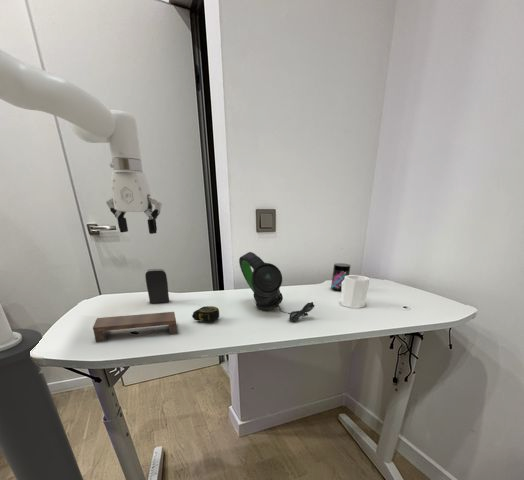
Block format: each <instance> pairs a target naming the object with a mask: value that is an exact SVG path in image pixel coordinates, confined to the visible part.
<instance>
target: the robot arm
mask: <svg viewBox="0 0 524 480" xmlns="http://www.w3.org/2000/svg"><path fill="white" fill-rule="evenodd" d="M0 100H2V101H4V102H6V103H8V104H10V105H12V106H14V107H17V108H20V109H24V110H29V111H38V112H43V113H46V114H50V115H52V116H55V117H57V118H60V119H62V120H64V121H67V122H68V123H69V124H70V128H71V129H72V132H73V133H74V134H75V135H76V136H77V137H78V138H79V139H80V140H82V141H84V142H87V143H89V144H109V149H110V155H111V161H110V162H109V167H110V168H111V169H113V172H111V193H112V197H111V198H109V199H108V200H106V202H105V203H106V205H107V207H108V208H109V211H110V212H111V213H112V214H113V215H114V217H115V218H116V219H117V224H118V229H119V232H120V233H127V232H129V228H128V222H127V217H125V215H126V213H127V212H128V213H144V214H145V215H146V216H147V218H148V219H147V228H148V233H149V234H150V235H154V234H157V230H158V227H157V219H158V216H159V215H160V214H161V210H162V207H163V203H162V202H161V201H159V200H158V199H156V198H154V197H152V195H151V189H150V186H149V185H150V184H149V182H148V179H147V176H146V173H144V169H143V164H142V156H141V148H140V141H139V135H138V134H139V133H138V128H137V127H138V126H137V121H136V118H135V116H134V114H132V113H130V112H129V111H126V110H121V109H110V108H108V106H107V105H106V104H105V103H104V102H102V100H100V99H98V98H97V97H96V96H94V95H93V94H91V93H90V92H88V91H87V90H85V89H83V88H81V87H80V86H78V85H76V84H74V83H73V82H71V81H69V80H67V79H65V78H63V77H61V76H58V75H57V74H54V73H52V72H50V71H47V70H44V69H42V68H39V67H37V66H35V65H33V64H30V63H27V62H24V61H22V60H21V59H19V58H17V57H15V56H13V55H11V54H10V53H8V52H7V51H5V50H3V49H1V48H0ZM153 205H154V210H153ZM11 329H12V328H11V325H10V323H9V320H8V318H7V315H6V312H5V311H4V309H3V306H2V303H1V302H0V352H1V351H4V350H7V349H10V348H12V347H14V346H16V345H18V344H19V343H20V342H21V341H22V336H21V334H19V333H17V332H12V330H11Z"/></svg>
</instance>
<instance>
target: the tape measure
mask: <svg viewBox="0 0 524 480" xmlns="http://www.w3.org/2000/svg"><path fill="white" fill-rule="evenodd" d="M191 317H192V318H193V320H194V321H197V322H198V321H199V322H203V323H212V322H216V321H218V320H219V318H220V309H219V308H218V307H217V306H213V305H209V306H202V307H199V308H198V309H197V310H194V311H193V313H192V314H191Z"/></svg>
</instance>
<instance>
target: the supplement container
mask: <svg viewBox="0 0 524 480" xmlns="http://www.w3.org/2000/svg"><path fill="white" fill-rule="evenodd" d="M351 267H352V266H351V264H348V263H342V262H341V263H340V262H337V263H336V262H335V263H333V271H332V277H331V284H330V289H331V290H332V291H335V292H342V281H343V280H344V278H345V276H348V275H350V271H351Z"/></svg>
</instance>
